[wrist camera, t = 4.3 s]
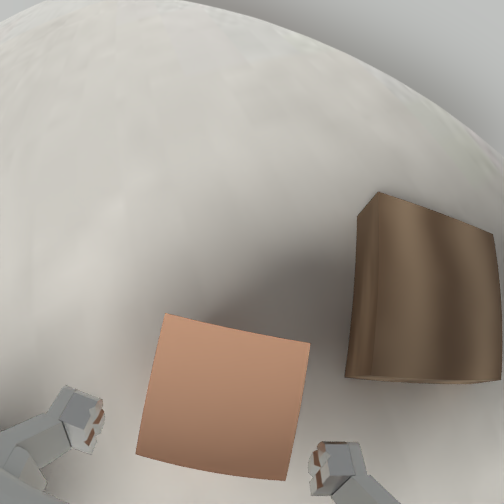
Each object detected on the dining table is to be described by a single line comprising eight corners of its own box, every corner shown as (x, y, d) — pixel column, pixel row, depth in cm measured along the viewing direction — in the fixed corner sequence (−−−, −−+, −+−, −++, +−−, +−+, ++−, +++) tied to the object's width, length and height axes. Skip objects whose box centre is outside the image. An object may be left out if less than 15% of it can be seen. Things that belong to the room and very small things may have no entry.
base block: (465, 252, 25) (493, 234, 21) (466, 384, 20) (501, 379, 16) (354, 218, 24) (378, 191, 20) (342, 377, 19) (370, 375, 16)
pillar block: (258, 360, 19) (310, 343, 10) (245, 431, 17) (285, 480, 8) (185, 345, 18) (165, 313, 9) (170, 416, 17) (135, 453, 7)
